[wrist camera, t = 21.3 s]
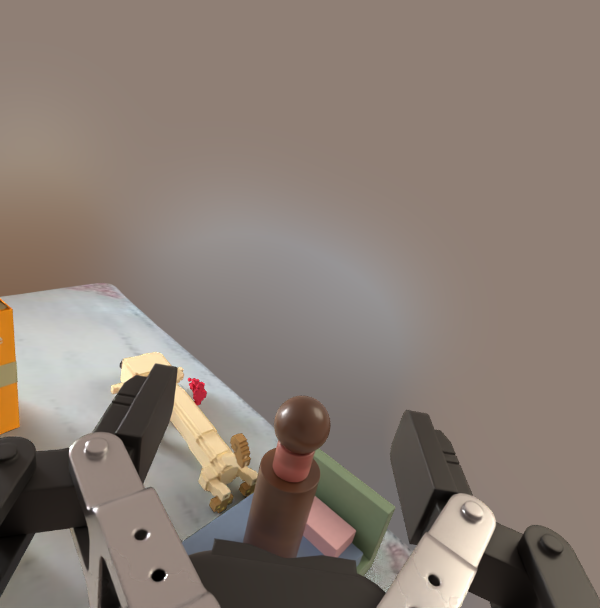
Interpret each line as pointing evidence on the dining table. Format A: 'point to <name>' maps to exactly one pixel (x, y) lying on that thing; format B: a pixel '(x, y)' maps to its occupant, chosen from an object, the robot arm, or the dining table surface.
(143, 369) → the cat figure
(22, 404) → the dining table surface
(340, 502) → the bed
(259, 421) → the dining table surface
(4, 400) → the orange juice
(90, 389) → the dining table surface
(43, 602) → the dining table surface
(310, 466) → the skittle
